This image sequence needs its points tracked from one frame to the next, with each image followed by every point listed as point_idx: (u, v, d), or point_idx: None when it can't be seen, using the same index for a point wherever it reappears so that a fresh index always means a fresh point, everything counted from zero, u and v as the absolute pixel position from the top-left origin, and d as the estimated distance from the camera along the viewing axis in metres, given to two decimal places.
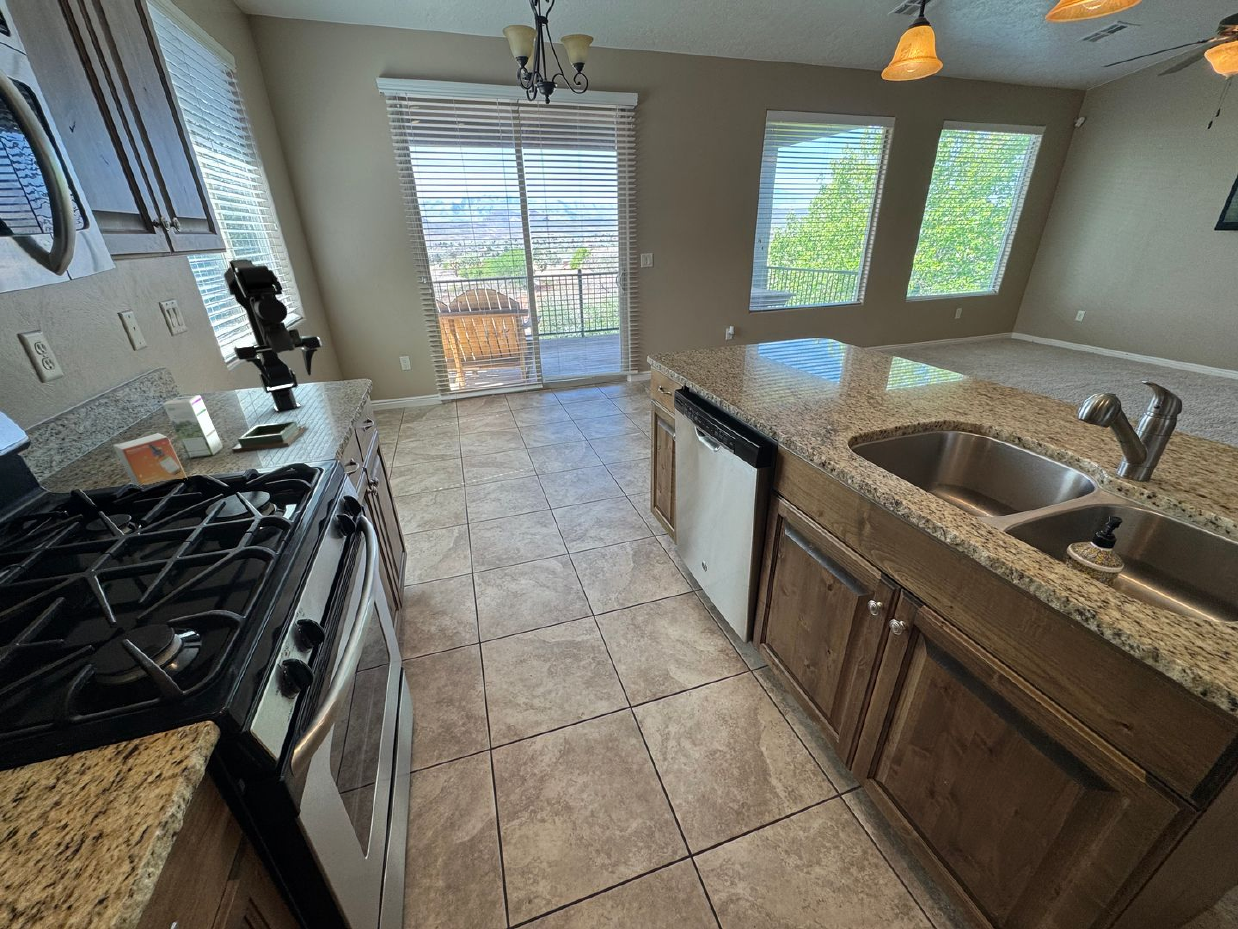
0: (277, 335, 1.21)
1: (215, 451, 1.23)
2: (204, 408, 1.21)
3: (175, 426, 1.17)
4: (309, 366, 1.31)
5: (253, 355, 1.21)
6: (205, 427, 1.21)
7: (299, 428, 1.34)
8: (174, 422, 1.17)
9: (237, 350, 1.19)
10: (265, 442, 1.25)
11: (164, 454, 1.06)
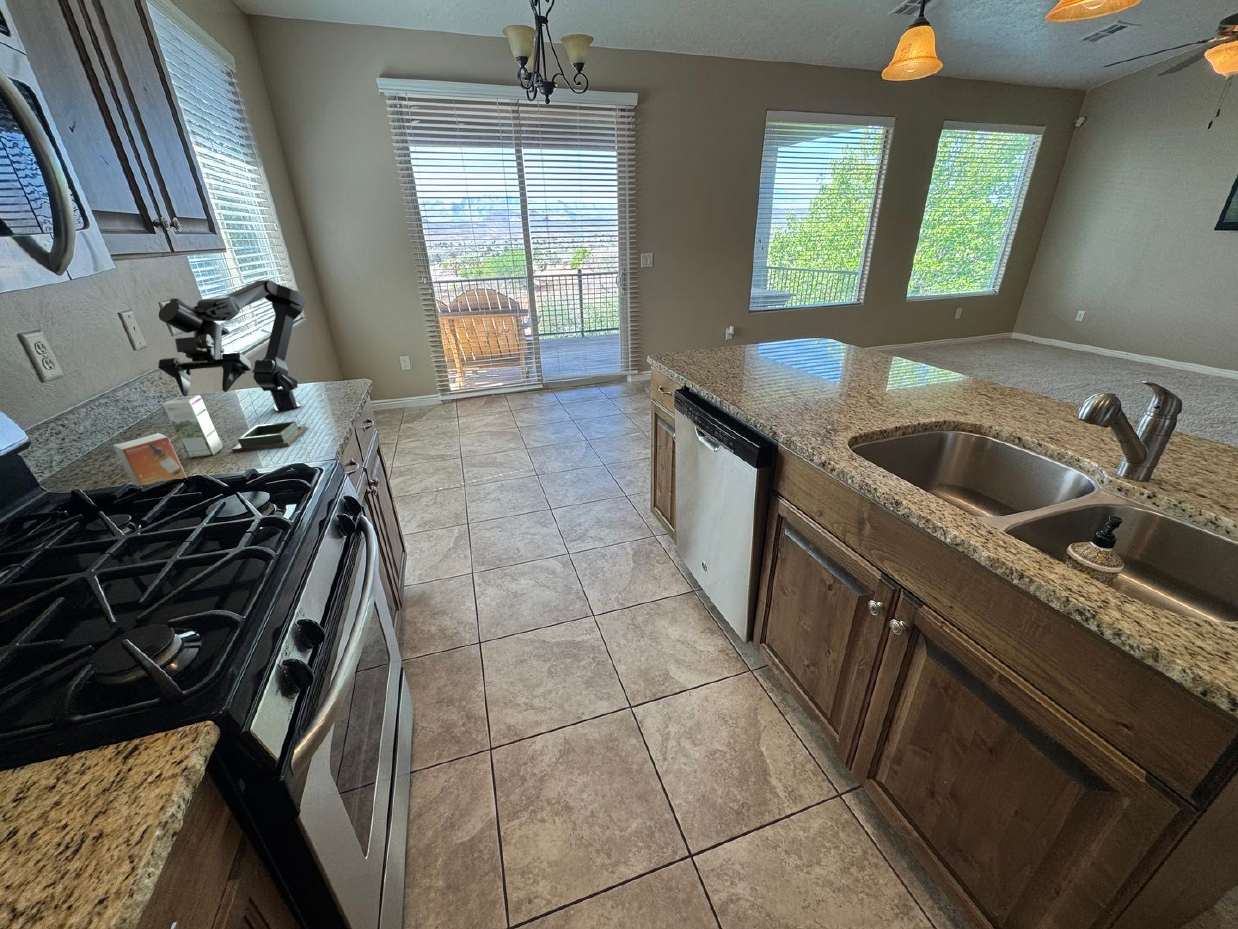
0: None
1: (215, 451, 1.23)
2: (204, 408, 1.21)
3: (175, 426, 1.17)
4: (224, 380, 1.26)
5: (170, 363, 1.23)
6: (205, 427, 1.21)
7: (299, 428, 1.34)
8: (174, 422, 1.17)
9: None
10: (265, 442, 1.25)
11: (165, 454, 1.06)
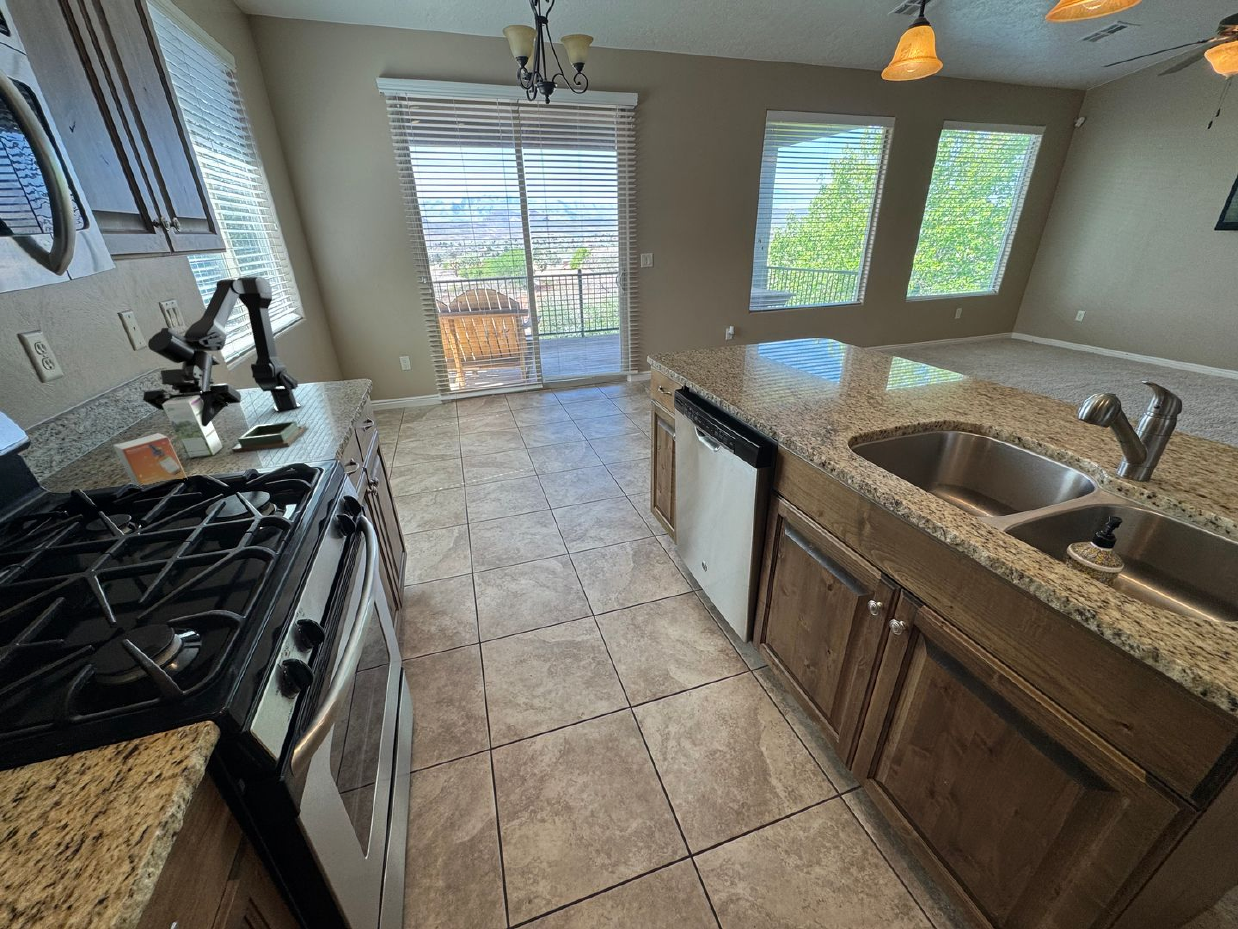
0: None
1: (215, 451, 1.23)
2: None
3: (175, 426, 1.17)
4: (204, 414, 1.20)
5: (155, 395, 1.18)
6: (205, 427, 1.20)
7: (299, 428, 1.34)
8: (173, 422, 1.17)
9: None
10: (265, 442, 1.25)
11: (165, 454, 1.06)
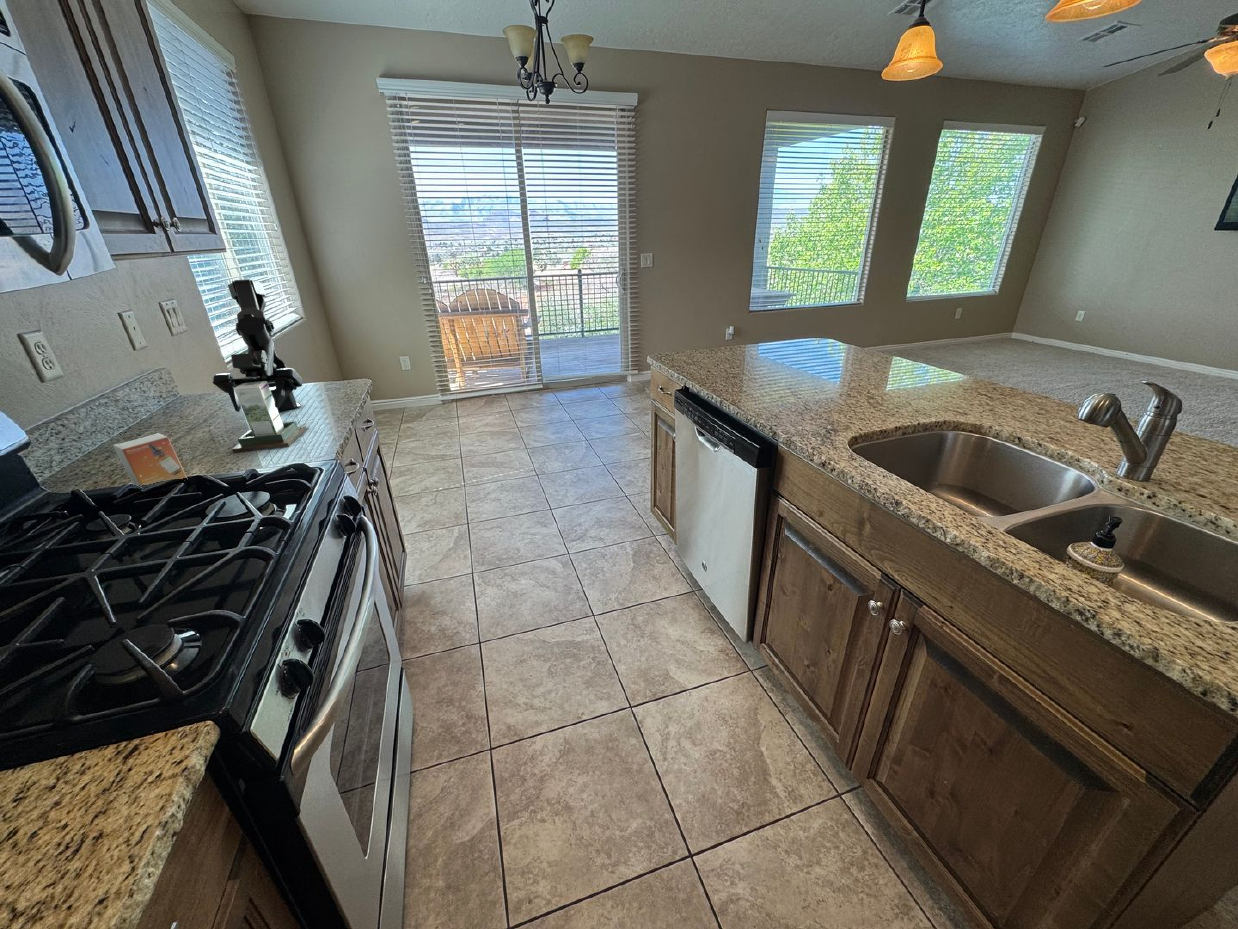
0: None
1: None
2: (270, 393, 1.27)
3: (245, 410, 1.23)
4: (277, 396, 1.26)
5: (224, 378, 1.23)
6: (271, 412, 1.26)
7: (299, 428, 1.34)
8: (244, 406, 1.23)
9: None
10: (265, 442, 1.25)
11: (165, 454, 1.06)
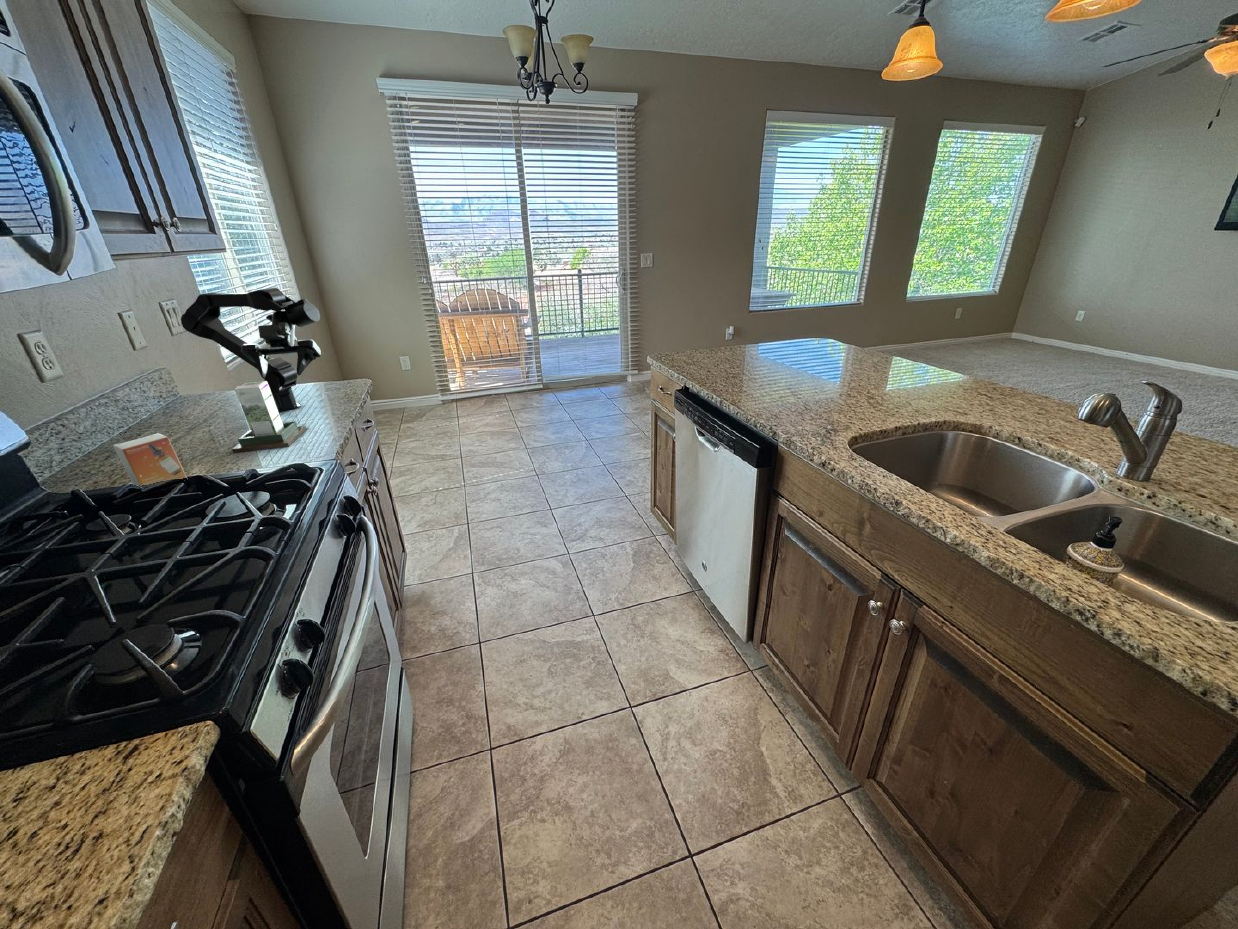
0: None
1: None
2: (270, 393, 1.27)
3: (245, 410, 1.23)
4: (298, 365, 1.39)
5: (251, 348, 1.36)
6: (271, 412, 1.26)
7: (299, 428, 1.34)
8: (244, 406, 1.23)
9: None
10: (265, 442, 1.25)
11: (165, 454, 1.06)
